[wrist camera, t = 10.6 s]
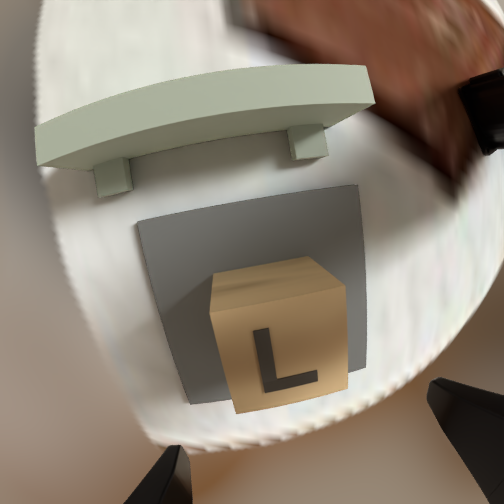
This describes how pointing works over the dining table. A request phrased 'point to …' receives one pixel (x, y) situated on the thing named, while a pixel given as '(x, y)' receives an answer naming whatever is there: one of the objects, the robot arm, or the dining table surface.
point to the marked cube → (280, 333)
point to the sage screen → (203, 117)
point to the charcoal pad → (247, 255)
